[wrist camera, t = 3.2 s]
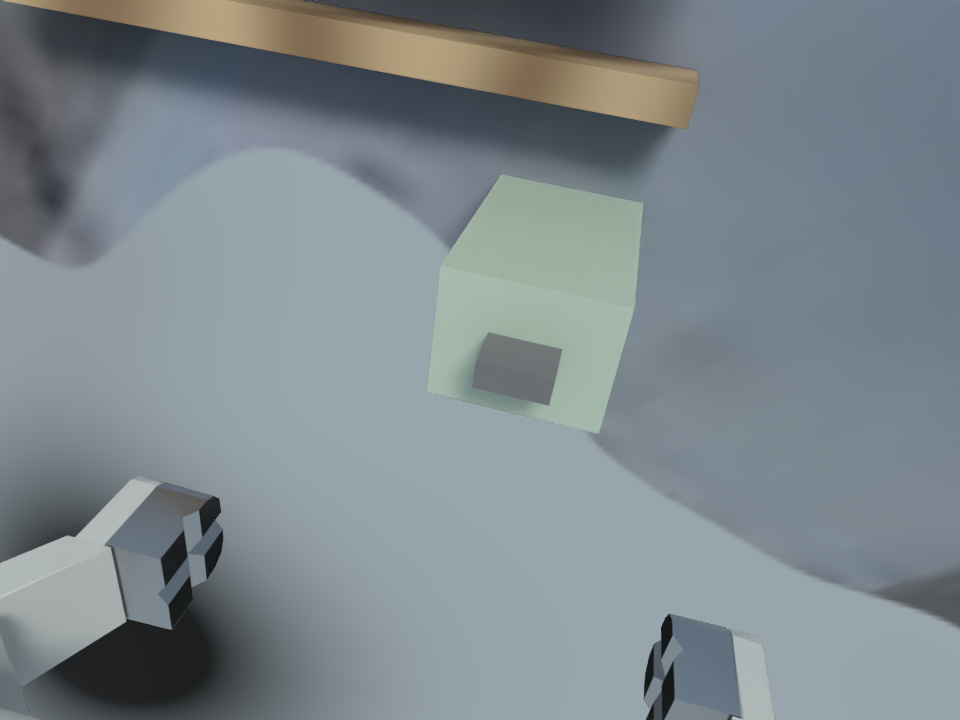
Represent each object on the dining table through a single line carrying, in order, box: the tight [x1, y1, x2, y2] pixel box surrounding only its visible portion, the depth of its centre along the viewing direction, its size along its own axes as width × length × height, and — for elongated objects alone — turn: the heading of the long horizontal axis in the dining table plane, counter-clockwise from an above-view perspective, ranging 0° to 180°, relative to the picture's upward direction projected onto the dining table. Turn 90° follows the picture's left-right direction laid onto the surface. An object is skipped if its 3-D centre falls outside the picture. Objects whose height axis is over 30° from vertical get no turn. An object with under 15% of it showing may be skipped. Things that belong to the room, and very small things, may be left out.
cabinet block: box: [426, 175, 643, 434], centre depth 21 cm, size 5×4×10 cm
